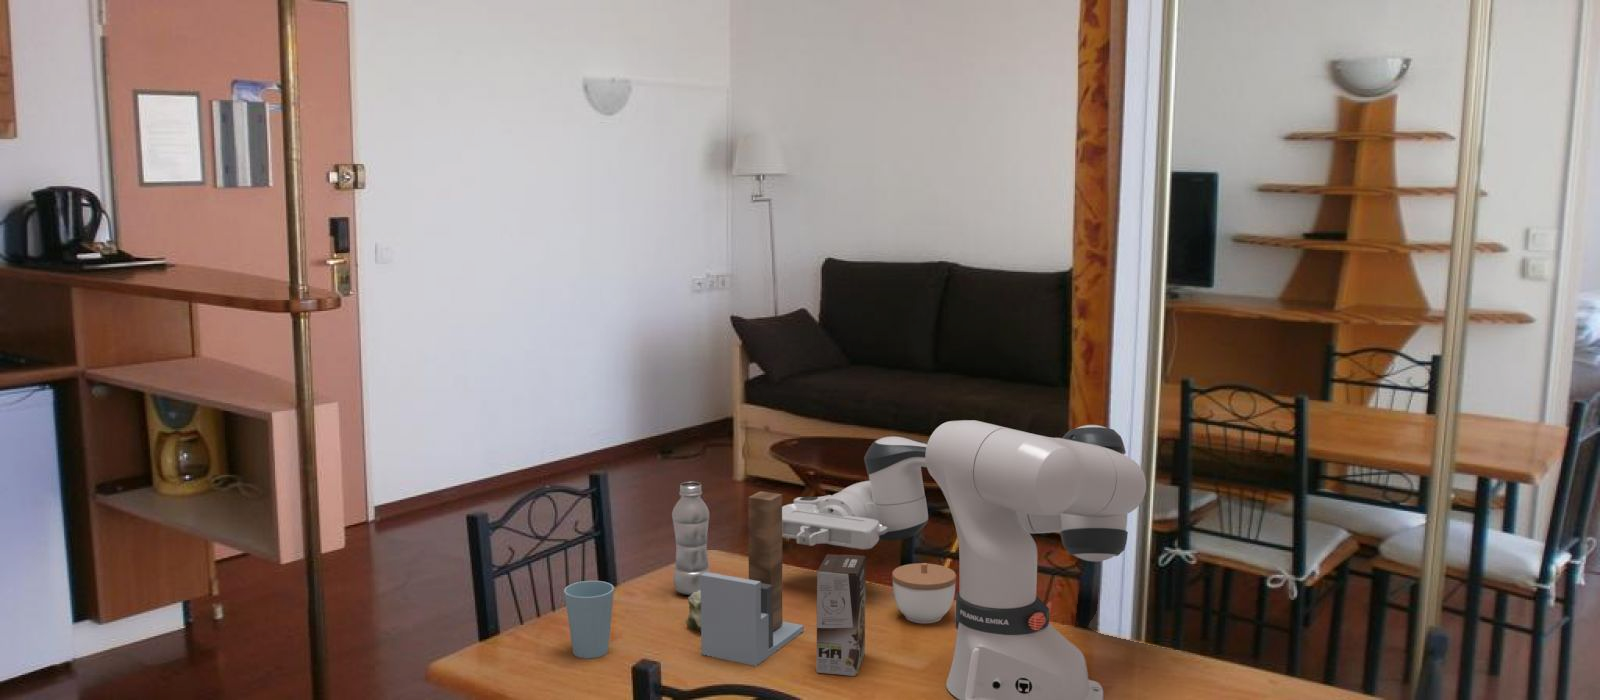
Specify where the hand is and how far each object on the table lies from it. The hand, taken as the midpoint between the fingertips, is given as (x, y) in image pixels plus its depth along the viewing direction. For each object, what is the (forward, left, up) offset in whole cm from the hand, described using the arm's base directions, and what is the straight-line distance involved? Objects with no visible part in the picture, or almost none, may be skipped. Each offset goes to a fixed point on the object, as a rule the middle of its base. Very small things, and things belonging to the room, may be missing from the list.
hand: (803, 540), depth 215 cm
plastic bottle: (+21, +3, -12) cm, 24 cm away
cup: (+21, +33, -12) cm, 41 cm away
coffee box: (-16, +19, -12) cm, 28 cm away
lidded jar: (-20, -5, -12) cm, 24 cm away
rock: (+10, +15, -12) cm, 22 cm away
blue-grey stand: (0, +18, -12) cm, 21 cm away
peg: (0, +14, -11) cm, 17 cm away
